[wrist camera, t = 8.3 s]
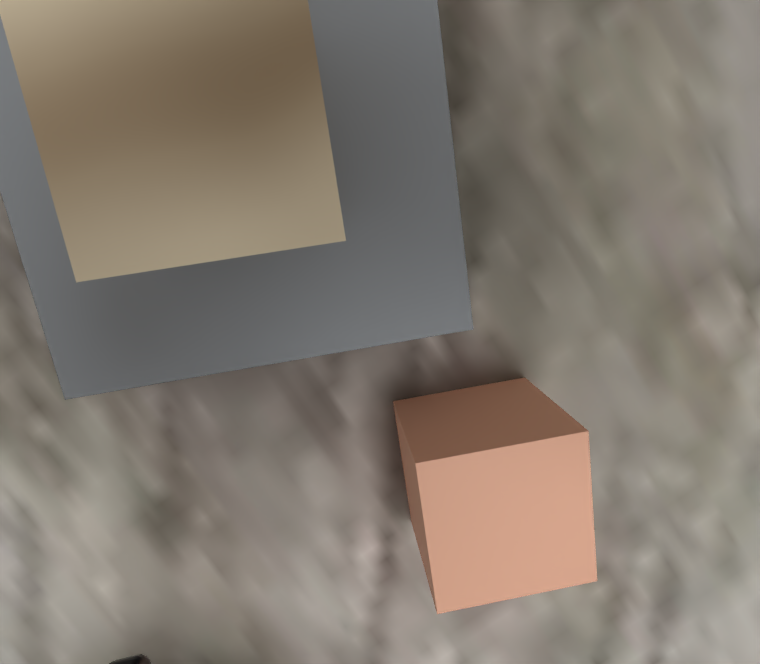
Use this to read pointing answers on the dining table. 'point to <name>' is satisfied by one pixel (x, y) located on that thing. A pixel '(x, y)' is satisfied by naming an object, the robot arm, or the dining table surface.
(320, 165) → the birch cube
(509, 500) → the terracotta cube
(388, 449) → the dining table surface
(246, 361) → the slate board
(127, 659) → the robot arm
